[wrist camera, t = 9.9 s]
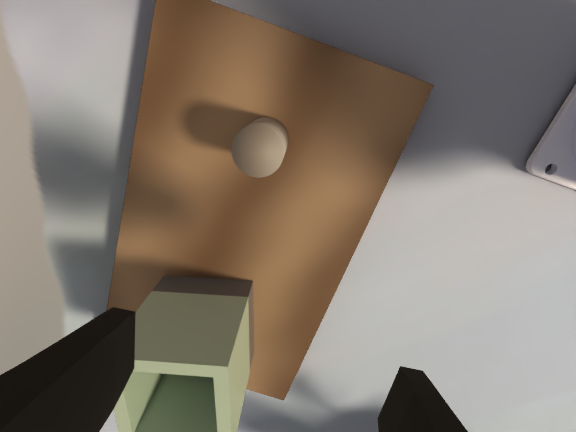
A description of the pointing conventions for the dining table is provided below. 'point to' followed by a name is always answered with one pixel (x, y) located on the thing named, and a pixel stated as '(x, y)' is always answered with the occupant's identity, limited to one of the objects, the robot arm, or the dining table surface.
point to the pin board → (250, 209)
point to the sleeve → (190, 357)
